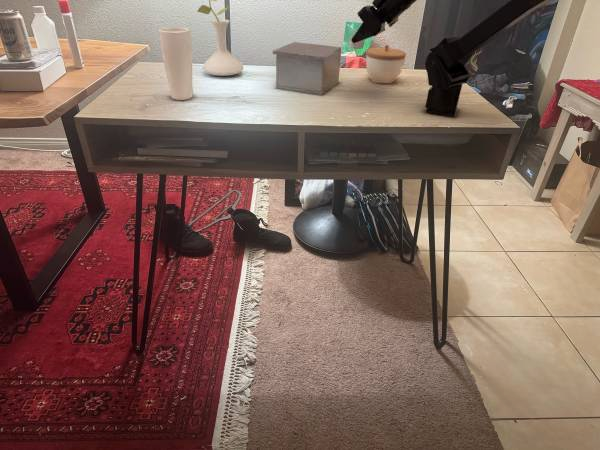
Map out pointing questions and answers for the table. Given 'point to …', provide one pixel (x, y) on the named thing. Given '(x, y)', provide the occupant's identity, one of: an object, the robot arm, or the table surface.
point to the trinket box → (384, 64)
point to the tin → (307, 73)
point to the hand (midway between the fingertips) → (352, 41)
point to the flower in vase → (220, 49)
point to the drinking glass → (177, 60)
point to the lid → (307, 51)
